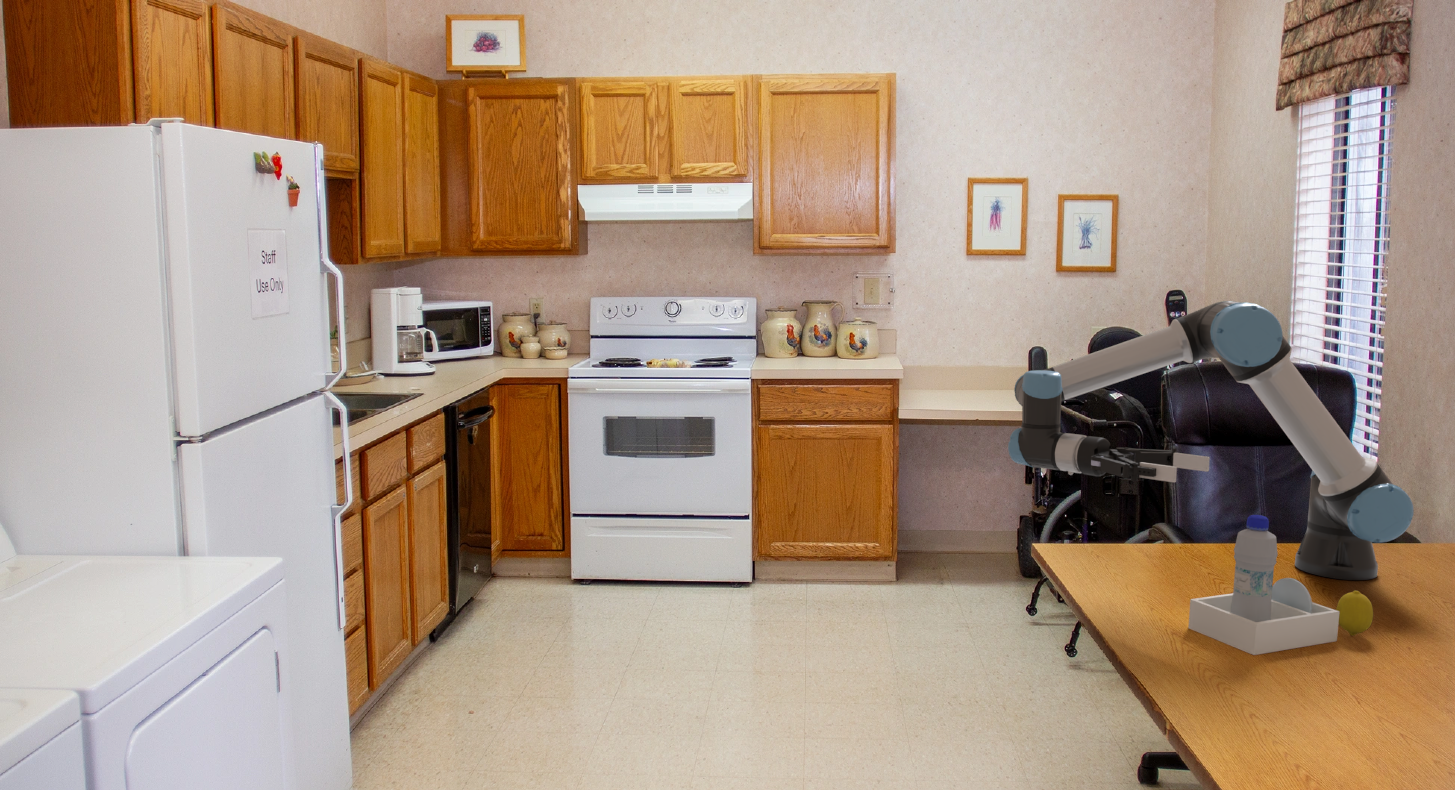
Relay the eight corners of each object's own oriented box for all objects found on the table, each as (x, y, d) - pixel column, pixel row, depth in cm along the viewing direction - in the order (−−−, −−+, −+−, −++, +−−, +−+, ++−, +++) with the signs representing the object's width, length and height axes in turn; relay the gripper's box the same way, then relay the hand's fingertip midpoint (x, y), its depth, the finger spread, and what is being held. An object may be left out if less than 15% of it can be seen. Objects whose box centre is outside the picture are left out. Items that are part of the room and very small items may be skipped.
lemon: (1375, 642, 189) (1380, 596, 188) (1340, 639, 190) (1344, 594, 189) (1364, 631, 195) (1368, 587, 194) (1329, 629, 196) (1333, 584, 195)
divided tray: (1268, 615, 202) (1272, 566, 201) (1336, 640, 190) (1341, 588, 188) (1188, 627, 195) (1191, 576, 194) (1253, 655, 182) (1258, 600, 181)
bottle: (1220, 623, 194) (1229, 510, 192) (1257, 622, 195) (1266, 510, 192) (1241, 636, 188) (1250, 520, 185) (1279, 636, 188) (1289, 519, 186)
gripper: (1115, 465, 227) (1220, 479, 212) (1050, 483, 210) (1160, 500, 195) (1116, 428, 226) (1222, 440, 211) (1051, 443, 209) (1161, 458, 194)
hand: (1192, 469), depth 203 cm, fingers open, 13 cm apart
